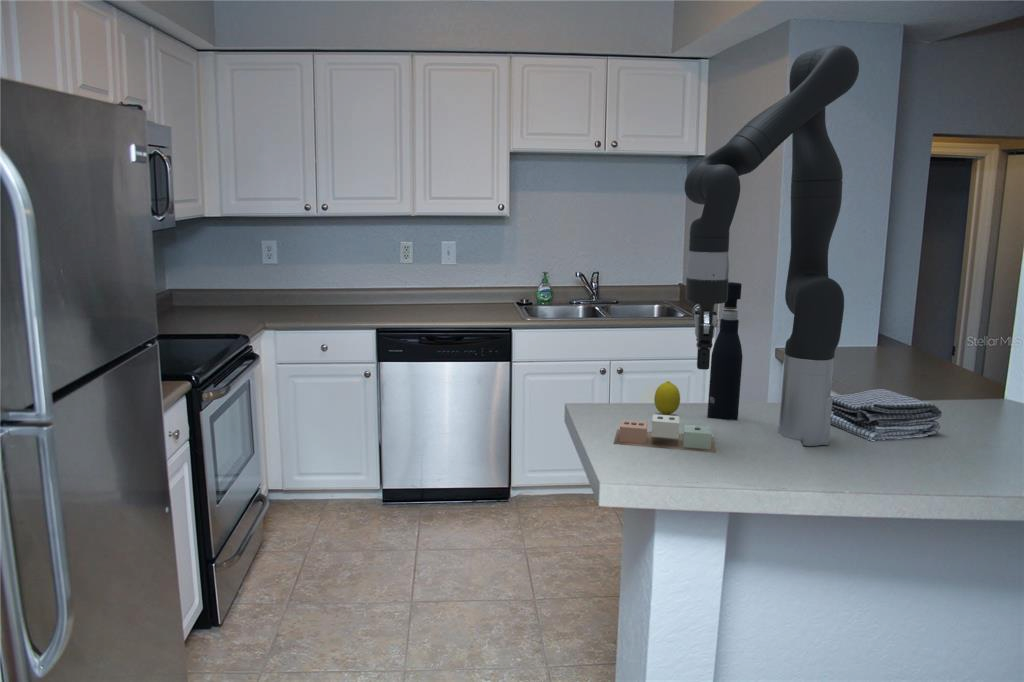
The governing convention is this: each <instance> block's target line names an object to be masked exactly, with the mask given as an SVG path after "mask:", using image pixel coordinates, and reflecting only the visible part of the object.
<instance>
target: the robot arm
mask: <svg viewBox="0 0 1024 682" xmlns="http://www.w3.org/2000/svg"><path fill="white" fill-rule="evenodd" d="M859 72H860V62H859V59H858V56H857V54H856V53H855V52H854V50H853V49H852V48H850V47H848V46H846V45H842V44H839V45H837V44H833V45H829V46H824V47H820V48H815V49H812V50H809V51H806V52H803V53H801V54H800V55H798V56H797V57H796V58H795V60H794V61H793V63H792V66H791V68H790V72H789V93H788V94H787V95H786V96H784V97H783V98H781V99H779V100H778V101H777V102H775V103H774V104H772V105H771V106H769V107H767V108H766V109H764V110H762V111H760V113H759V114H757V115H756V116H754V117H753V118H752V119H750V120H749V121H747V123H746V124H744V125H743V127H742V128H740V130H738V132H736V134H734V135H733V136H732V138H730V140H729V141H727V143H726V144H724V145H723V146H722V147H719V148H718V149H717V150H715V151H713V152H712V153H711V154H709V155H707V156H706V157H705V158H704V159H702V160H701V161H700V162H698V163H696V165H695V166H693V168H692V169H690V171H689V172H688V174H687V176H686V178H685V181H684V193H685V196H686V197H687V198H688V199H689V200H690V201H691V202H693V203H694V204H698V205H703V209H702V213H701V216H700V217H699V218H696V219H695V220H693V221H692V222H691V225H690V228H689V244H688V245H689V246H688V247H689V248H688V257H687V261H686V262H687V263H686V278H685V279H686V281H685V300H686V301H687V302H688V303H693V304H699V305H698V310H694V315H693V316H694V317H693V318H694V322H695V324H694V325H695V326H694V327H695V328H694V335H695V337H696V340H695V341H696V350H697V355H696V356H697V358H696V367H697V370H709V369H710V364H711V359H710V358H711V350H712V349H713V339H714V338H715V336H716V335H715V332H716V331H715V330H716V323H717V322H718V321H717V320H718V313H717V310H715V311H714V305H715V304H717V305H719V304H725V302H726V301H727V298H728V282H729V279H730V278H729V273H730V258H729V249H730V229H731V225H732V223H733V220H734V217H735V213H736V210H737V206H738V204H739V203H738V202H739V199H740V195H741V180H740V176H743V175H747V174H750V173H751V172H753V171H755V170H756V169H757V168H758V167H759V166H760V165H761V164H762V163H763V162H764V161H765V160H766V159H768V157H769V156H770V155H771V154H772V153H774V151H775V150H776V149H777V148H779V146H781V144H782V143H784V142H785V141H786V140H787V139H788V138H789V137H790V136H791V135H792V141H791V143H792V149H791V150H792V156H791V158H792V160H791V161H792V163H791V166H792V167H791V178H790V179H791V180H790V181H791V182H790V253H789V254H790V255H789V263H788V271H787V276H786V277H787V278H786V282H785V283H786V285H785V292H784V293H785V294H784V296H785V297H784V298H785V304H786V306H787V308H788V310H789V311H790V312H791V314H792V315H793V323H792V331H791V334H790V337H789V338H788V339H787V340H786V341H785V347H784V355H783V356H784V358H783V369H782V380H781V392H780V394H781V395H780V403H779V417H778V426H777V433H778V434H779V435H781V436H782V437H784V438H786V439H787V438H788V439H791V440H797V441H800V443H801V445H802V446H807V447H815V446H829V443H830V442H829V439H830V432H831V431H830V430H831V424H830V422H831V414H832V413H833V412H832V401H833V399H832V397H831V396H832V393H831V392H832V384H833V382H832V381H833V374H834V373H833V372H834V363H835V356H836V355H835V354H836V350H837V347H838V346H839V344H840V339H841V334H842V325H843V320H844V311H845V310H844V309H845V295H844V291H843V288H842V287H841V285H840V284H839V283H838V282H837V281H836V280H834V279H833V278H830V277H829V249H830V245H831V244H830V243H831V238H832V236H833V232H834V231H835V227H836V226H837V225H836V224H837V223H838V222H837V221H838V219H839V214H840V213H841V212H840V211H841V207H842V200H843V199H842V198H843V196H842V195H843V175H844V174H843V168H842V167H843V166H842V164H841V160H840V158H839V156H838V153H837V151H836V150H835V147H834V146H833V143H832V141H831V139H830V137H829V134H828V129H827V122H826V107H828V106H829V105H830V104H832V103H833V102H835V101H836V100H838V99H839V98H840V97H842V96H843V95H845V94H846V93H847V92H848V91H850V90H851V89H852V88H853V86H854V85H855V84H856V81H857V80H858V78H859Z"/></svg>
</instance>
